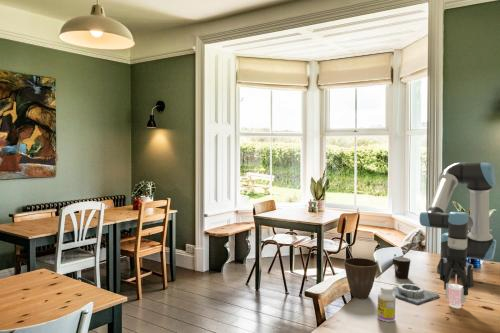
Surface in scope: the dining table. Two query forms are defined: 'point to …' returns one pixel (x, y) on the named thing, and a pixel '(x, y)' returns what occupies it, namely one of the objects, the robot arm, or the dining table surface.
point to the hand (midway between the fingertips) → (455, 299)
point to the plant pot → (360, 276)
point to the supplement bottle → (386, 304)
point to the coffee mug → (401, 267)
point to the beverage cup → (455, 295)
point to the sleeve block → (413, 293)
